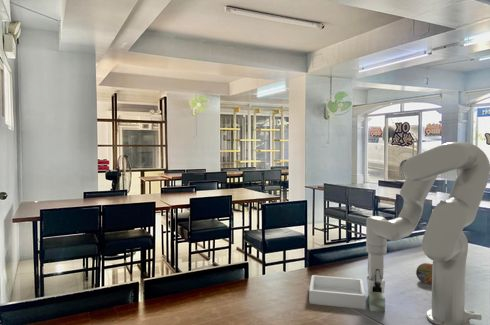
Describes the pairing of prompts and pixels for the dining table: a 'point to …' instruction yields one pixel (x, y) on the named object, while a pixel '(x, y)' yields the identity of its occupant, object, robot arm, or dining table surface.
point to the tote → (337, 292)
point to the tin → (425, 273)
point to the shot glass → (370, 284)
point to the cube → (376, 301)
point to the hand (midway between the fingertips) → (375, 292)
